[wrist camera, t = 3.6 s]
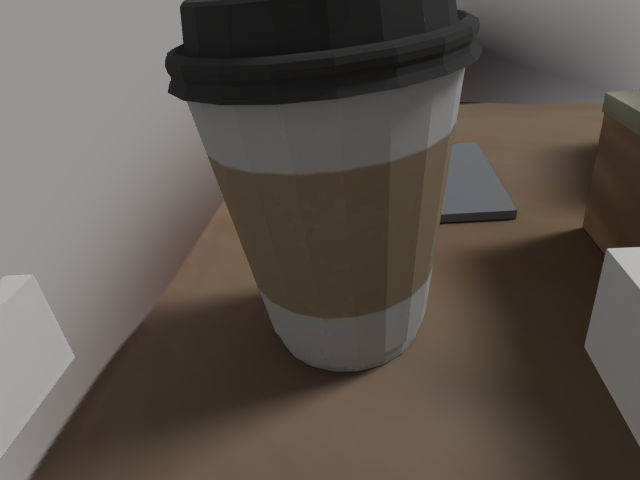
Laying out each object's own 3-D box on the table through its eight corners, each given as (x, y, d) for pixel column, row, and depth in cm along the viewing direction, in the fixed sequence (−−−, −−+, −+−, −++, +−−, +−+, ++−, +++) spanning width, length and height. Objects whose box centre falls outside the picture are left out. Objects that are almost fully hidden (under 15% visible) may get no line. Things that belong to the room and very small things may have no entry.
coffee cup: (464, 261, 27) (479, -42, 20) (470, 429, 18) (504, -30, 10) (276, 255, 30) (227, -11, 22) (196, 396, 21) (64, 20, 13)
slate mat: (476, 148, 42) (476, 142, 41) (516, 218, 31) (517, 210, 30) (330, 159, 43) (329, 153, 43) (317, 229, 32) (316, 221, 32)
